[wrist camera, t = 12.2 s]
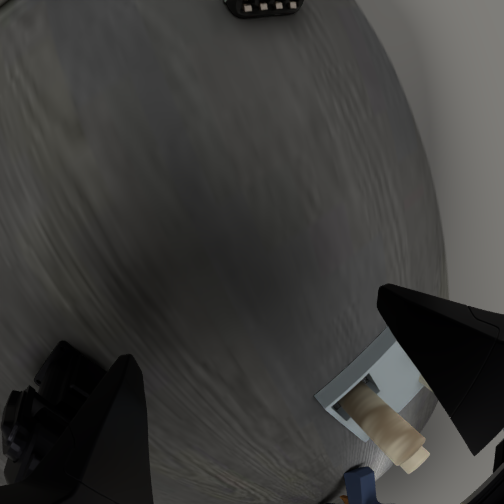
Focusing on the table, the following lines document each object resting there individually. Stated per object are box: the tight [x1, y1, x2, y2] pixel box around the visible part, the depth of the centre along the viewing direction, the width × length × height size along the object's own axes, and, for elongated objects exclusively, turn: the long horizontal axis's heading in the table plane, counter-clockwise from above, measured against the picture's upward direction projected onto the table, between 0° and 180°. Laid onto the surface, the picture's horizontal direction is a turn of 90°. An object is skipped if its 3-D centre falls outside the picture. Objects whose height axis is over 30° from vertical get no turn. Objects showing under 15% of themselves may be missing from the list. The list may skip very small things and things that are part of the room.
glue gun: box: [326, 467, 381, 504], centre depth 38 cm, size 6×31×15 cm
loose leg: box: [337, 380, 425, 466], centre depth 25 cm, size 4×4×13 cm
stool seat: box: [314, 326, 433, 474], centre depth 28 cm, size 18×18×13 cm
